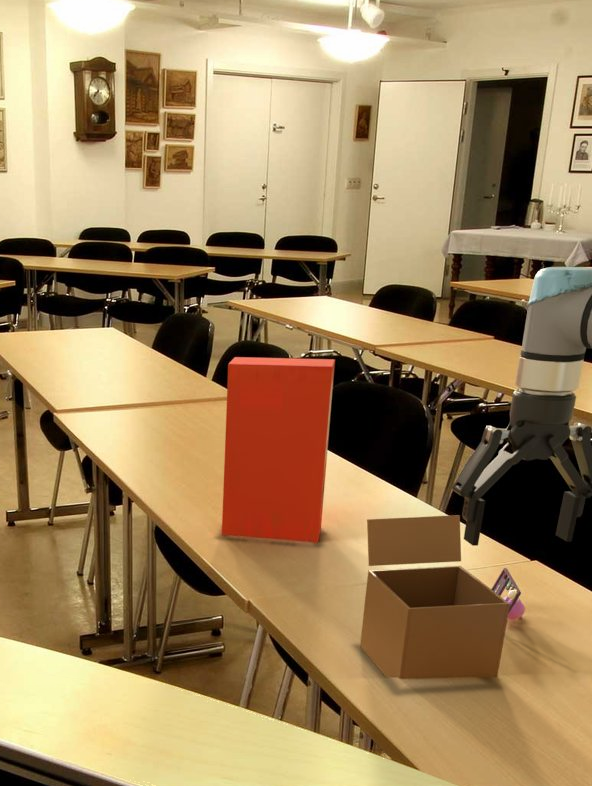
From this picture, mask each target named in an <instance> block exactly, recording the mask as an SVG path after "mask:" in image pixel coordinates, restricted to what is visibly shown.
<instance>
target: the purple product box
mask: <svg viewBox="0 0 592 786" xmlns="http://www.w3.org/2000/svg"><path fill="white" fill-rule="evenodd" d="M490 589H491V590H493V591H494V592H495V593H497V594H498V595H499V596H501V597H502V595H503V593H504V591H505V590H506V591H507V596H505V597H502V598H503V599H505V600H506V601H507V602H508V603H510V608H509V613H508V619H509V620H518V619H520V618H521V619H522V618H523V616H524V614H525V611H526V607H525V604H524V603H523V600H521V599H520V596H521V594H522V592H521V589H520V588H519V587H518V584H517V583H516V582H515V580H514V578H513V576H512V574H511V572H510V571H509V570H508V568H506V567H503V568H502V570H501V572H500V574H499V576H498V577H497V578H496V580H495V582H494V584H493V585H492V586H491V588H490ZM508 619H507V620H508Z"/></svg>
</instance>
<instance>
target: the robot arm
mask: <svg viewBox="0 0 592 786" xmlns="http://www.w3.org/2000/svg"><path fill="white" fill-rule="evenodd" d="M531 287H532V288H531V291H530V296H529V299H528V301H527V304H526V306H527V313H526V319H525V324H524V331H523V336H522V337H523V338H522V346H521V349H520V354H519V359H518V366H517V370H516V376H515V383H514V384H515V386H516V387H517V388H516V389H515V390H514V391H513V392H512V398H511V403H510V410H509V423H508V426H507V427H506V428H502V427H501V428H499V427H495V426H492V425H490V424H489V425H486V427H485V428H484V430H483V433H482V437H481V441H480V442H479V444H478V446H477V447H476V449H475V451H474V452H473V454H472V455H471V456H470V458H469V459H468V461H467V462H466V464H465V466H463V467H464V468H463V469H462V470H461V472H460V474H459V475H458V477H457V478H456V479H455V481H454V483H453V485H452V486H451V490H452V491H453V492H454V493H456V494H458V495H459V496H461V497H463V498H464V501H463V505H462V506H463V507H462V513H461V516H462V519H463V520H464V521H466V522H465V527H464V534H463V540H464V541H465V542H467V543H468V544H470V545H471V546H479V542H480V536H481V532H482V531H481V530H482V526H483V525H482V524H483V518H484V512H485V508H486V507H485V506H486V500H484V499H483V496H484V495H485V494H486V493H487V492H488V491H489V490H490V489H491V488H492V487H493V486H494V485H495V484H496V483H497V482H498V481H499V480H500V479H501V478H502V477H503V476H504V475H505V474H506V473H507V472H508V471H509V470H510V469H511V468H512V467H513V466H514V465H517V464H519V463H520V462H521V461H522V460H523V461H534V460H541V461H548V459H549V460H551V461H552V463H553V465H554V466H555V468H556V469H557V471H558V472H559V474H560V475H561V477H562V478H563V480H564V481H565V483H566V484H567V486H568V487H569V489H570V490H571V491H567V490H566V491H564V492H563V497H562V500H561V501H562V502H561V505H560V511H559V517H558V521H557V526H556V531H555V536H556V537H558V538H560V539H561V540H562V541H565V542H572V541H573V537H574V532H575V528H576V523H577V522H576V521H577V518H580V517H581V516H582V515H583V512H584V508H585V507H584V506H585V503H586V499H589V498H591V497H592V426H590V425H587V424H584V423H581V422H578V421H577V422H574V423H573V425H570V422H571V420H572V419H573V415H574V410H575V405H576V400H577V396H576V393H574V392H575V391H577V390H578V389H579V387H580V381H581V377H582V372H583V371H582V370H583V364H584V360H585V354H586V350H587V349H590V350H592V267H584V266H549V267H545V268H542V269H539V270H538V271H537V273H536V274H535V276H534V279H533V283H532V286H531ZM568 439H569V440H571V444H572V447H573V451H574V455H575V458H576V461H577V465H578V468H579V471H578V470H577V469H576V467H575V466H574V464H573V462H572V461H571V459H570V458H569V454H568V452H567V451H566V449H565V448H564V447H563V444H564V443H565V442H566V441H567V440H568ZM504 440H506V442H507V443H506V444H505V445H503V446H502V448H500V450H499V451H498V448H499V446H500V445H501V444H503V443H504ZM497 451H498V455H496V457H494V455H495V454H496V452H497ZM493 457H494V459H493V460H492V458H493ZM490 461H491V462H490Z"/></svg>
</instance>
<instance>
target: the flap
mask: <svg viewBox="0 0 592 786" xmlns="http://www.w3.org/2000/svg"><path fill="white" fill-rule="evenodd" d="M366 528H367V529H366V530H367V531H366V532H367V559H368V561H367V562H368V567H376V566H379V567H380V566H396V565H397V566H398V565H416V564H417V565H418V564H438V563H439V564H440V563H457V562H462V545H461V544H462V543H461V541H462V540H461V515H460V514H454V515H433V516H412V517H409V516H408V517H390V518H389V517H387V518H371V519H370V518H368V519H366Z"/></svg>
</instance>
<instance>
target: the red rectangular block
mask: <svg viewBox="0 0 592 786" xmlns="http://www.w3.org/2000/svg"><path fill="white" fill-rule="evenodd" d="M335 365H336V359H333V358H331V359H330V358H329V359H328V358H291V357H287V358H285V357H252V356H251V357H249V356H248V357H247V356H246V357H245V356H234V357H233V358H232V359H231V361H229V363H228V365H227V384H226V385H227V386H226V387H227V390H226V410H225V411H226V412H225V413H226V415H225V436H224V437H225V438H224V440H225V441H224V463H223V464H224V465H223V489H222V491H223V494H222V515H221V517H222V518H221V535H222V536H234V537H245V538H255V539H256V538H257V539H269V540H279V541H280V540H282V541H293V542H305V543H316V544H318V543H319V539H320V534H321V529H322V522H323V521H322V520H323V508H324V499H325V498H324V496H325V486H326V485H325V483H326V474H327V473H326V472H327V460H328V449H329V437H330V424H331V412H332V400H333V389H334V379H335V378H334V377H335V367H336V366H335Z"/></svg>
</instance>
